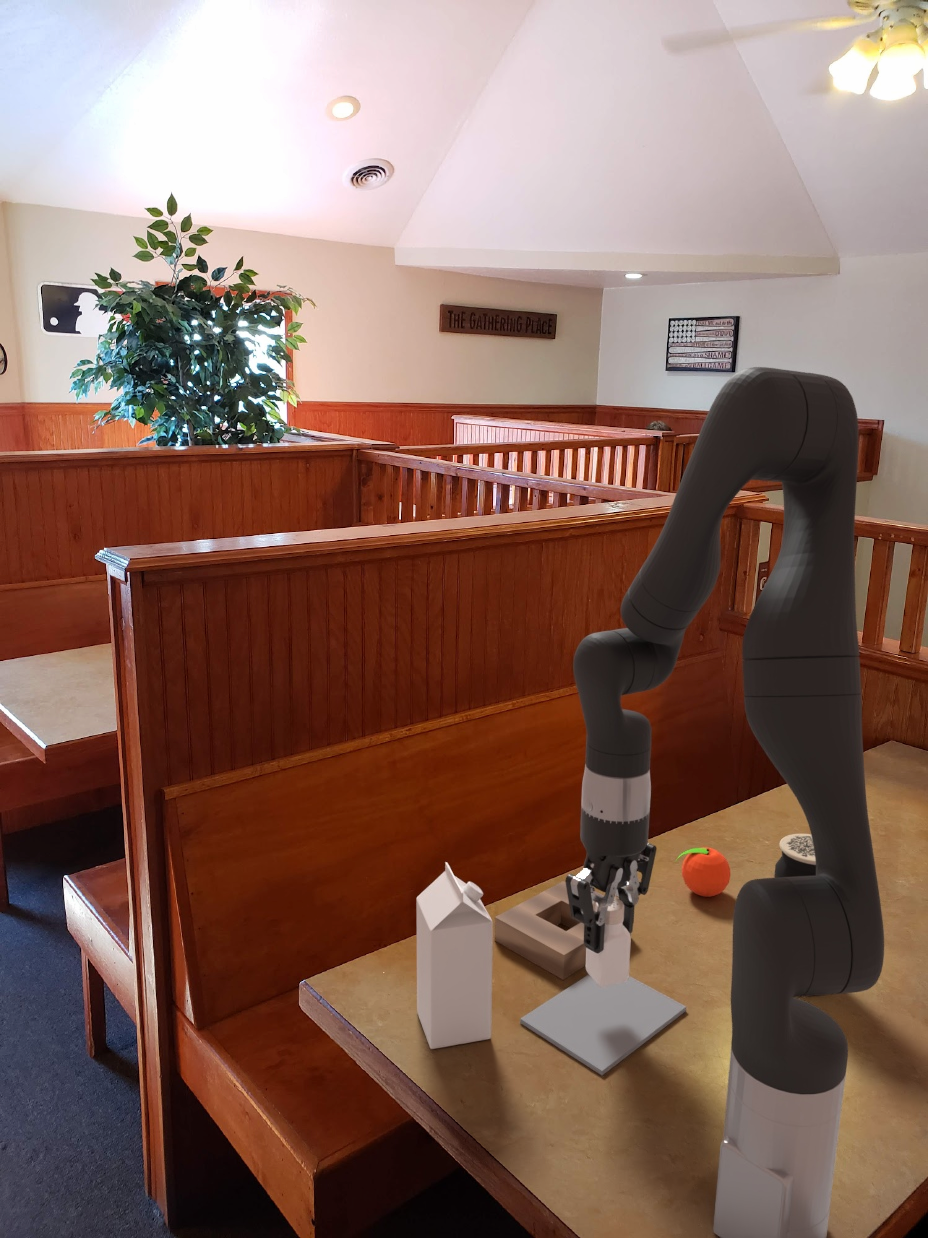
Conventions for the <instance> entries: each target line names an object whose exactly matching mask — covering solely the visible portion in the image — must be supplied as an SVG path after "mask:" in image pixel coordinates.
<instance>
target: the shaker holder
mask: <svg viewBox="0 0 928 1238" xmlns="http://www.w3.org/2000/svg"><path fill="white" fill-rule="evenodd" d="M593 910H594V911H596V902H595V901H594V903H593ZM560 924H561V925H563V926H565V927H567V928H569V929H568V930H564V929H563V928H561V927H559V925H560ZM630 936H631V937H632V933H630ZM494 941H495V942H497V943H498V944H500V945H502V946H503V947H505V948H507V949H509V950H511V951H512V952H514V953H515V954H518V955H519V956H521V957H523V958H524V959H526V960H528V961H529V962H531V963H532V964H534V965H537V966H538V967H539V968H542V969H543V970H545V971H547V972H548V973H550V974H552V975H554V976H555V977H557V978H559V979H561V980H562V981H563V980H565V979H568V977H570V976H572V975H573V974H575V973H576V972H578V971H580V970H581V969H584V968H585V967H586V946H585V945H584V924H583V923H581V922H579V921H578V920H576V919H574V918H572V917H571V912H570V906H569V900H568V894H567V888H566V882H565V880H562V881H560V882H559V883H556V884H554V885H553V886H551V887H549V888H547V889H545V890H544V891H541V892H540V893H537V894H536V895H534V896H532V897H530V898H528V899H526V900H525V901H523V902H520V903H518V904H517V905H514V907H511V908H509V909H507V910H505V911H504V912H502V913H500V914H498V915H496V916H494Z"/></svg>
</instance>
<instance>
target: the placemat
mask: <svg viewBox="0 0 928 1238" xmlns="http://www.w3.org/2000/svg"><path fill="white" fill-rule="evenodd" d="M686 1012H687V1006H686V1005H685V1004H682V1003H680V1002H678V1001H677V1000H675V999H673V998H672V997H669V996H668V995H665V994H664V993H661V992H660V991H658V990H656V989H654V988H652V987H651V986H649V985H647V984H645V983H643V982H641V981H639V980H637V979H636V978H634V977H632V976H631V975H629V978H628V980H627V981H626V982H622V983H618V984H614V985H610V986H607V987H600V986H599V985H598V984H597V983H596V982H595V981H594V979H593V978H592V977H591V976H590V975H589V974H586V976H584V977H583V978H581V979H579V980H578V981H576V982H574V983H573V984H572V985H570V986H569V987H567V988H565V989H564V990H562V991H561V992H559V993H557V994H556V995H555V996H553V997H552V998H550V999H548V1000H547V1001H545V1002H544V1003H542V1004H541V1005H539V1006H537V1007H536V1008H534V1009H533V1010H531V1011H530V1012H528V1013H527V1014H525V1015H524V1016H522V1017H521V1018H520V1020H519V1021H520V1022H519V1023H520V1024H521V1025H522V1026H524V1027H525V1028H527V1029H529V1030H530V1031H532V1032H534V1033H535V1034H537V1035H538V1036H540V1038H542V1039H544V1040H546V1041H547V1042H549V1043H550V1044H552V1045H554V1046H555V1047H557V1048H558V1049H559V1050H561V1051H563V1052H565V1053H566V1054H567V1055H569V1056H571V1057H572V1058H574V1059H575V1060H576V1061H579V1062H580V1063H582V1064H583V1065H584V1066H586V1067H587V1068H589V1069H591V1070H593V1071H594V1072H596V1073H597V1074H599V1076H604V1075H605V1074H606V1073H608V1072H609V1071H611V1069H613V1068H614V1067H615V1066H617V1065H618V1064H619V1063H620V1062H622V1061H623V1060H624V1059H626V1058H627V1057H628V1056H630V1055H631V1054H632V1053H634V1052H635V1051H636V1050H638V1049H639V1048H640V1047H641V1046H642V1045H644V1044H645V1043H647V1042H648V1041H649V1040H650V1039H651V1038H653V1037H654V1036H655V1035H657V1034H658V1033H659V1032H661V1031H662V1030H664V1029H665V1028H666V1027H667V1026H669V1025H670V1024H671V1023H673V1022H674V1021H675V1020H676V1019H678V1018H679V1017H680V1016H682V1015H683V1014H684V1013H686Z"/></svg>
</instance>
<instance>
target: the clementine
mask: <svg viewBox="0 0 928 1238" xmlns="http://www.w3.org/2000/svg"><path fill="white" fill-rule="evenodd" d="M684 855H686V857H685V858H684V859H683V863H682V867H681V875H682V878H683V881H684V884H685V885H686V887H687V888H688V889H689V890H690V891H691V892H692V893H694V894H695V895H698V896H700V897H709V898H710V897H714V896H717V895H719V894H721V893H723V892H724V891H725V889H726V888H727V887H728V885H729V883H730V881H731V875H732V874H731V867H730V864H729V862H728V860H727V858H726V857H725V856H724V855H723V854H722V853H721V852H719V851H718V850H717V849H714V848H712V847H711V848H710V847H705V846H704V847H695V848H694V847H693V848H691V849H688V850H685V851H684V852H682V853H680V855H678V857H677V858H676V860H675V861H674V863H676V862H677V860H679V858H681V857H682V856H684Z"/></svg>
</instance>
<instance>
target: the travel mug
mask: <svg viewBox="0 0 928 1238" xmlns="http://www.w3.org/2000/svg"><path fill="white" fill-rule="evenodd" d="M779 848H780V850H781V856H780V857H779V859H778V861H776V863H775V867H774V876H773V878H778V877H780V878H781V877H798V876H816V860H815V852H814V845H813V840H812V835H811V833H792V834H788V835H786V836H784V837H783V838H781V840H780V841H779Z"/></svg>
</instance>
